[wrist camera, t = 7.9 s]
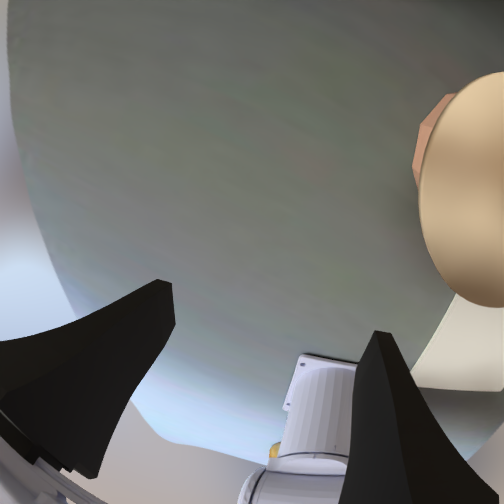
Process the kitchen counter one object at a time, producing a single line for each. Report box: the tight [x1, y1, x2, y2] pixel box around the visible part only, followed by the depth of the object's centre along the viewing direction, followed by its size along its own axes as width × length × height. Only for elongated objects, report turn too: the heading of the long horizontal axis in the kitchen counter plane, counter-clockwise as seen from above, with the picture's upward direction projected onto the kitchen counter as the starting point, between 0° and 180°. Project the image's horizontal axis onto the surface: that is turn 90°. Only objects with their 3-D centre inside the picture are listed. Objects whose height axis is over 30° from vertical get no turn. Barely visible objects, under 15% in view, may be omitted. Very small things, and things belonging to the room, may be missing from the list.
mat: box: [410, 293, 504, 391], centre depth 18 cm, size 13×13×1 cm
